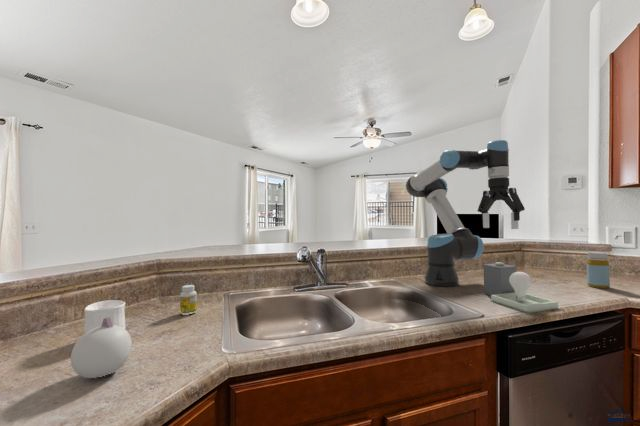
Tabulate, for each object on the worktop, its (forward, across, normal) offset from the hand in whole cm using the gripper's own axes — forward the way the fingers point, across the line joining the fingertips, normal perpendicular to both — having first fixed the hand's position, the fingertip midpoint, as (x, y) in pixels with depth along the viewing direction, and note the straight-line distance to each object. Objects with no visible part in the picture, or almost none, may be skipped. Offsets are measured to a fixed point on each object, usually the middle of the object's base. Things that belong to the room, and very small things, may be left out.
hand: (499, 228), depth 119 cm
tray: (+27, +15, -7) cm, 31 cm away
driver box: (+27, +3, -4) cm, 27 cm away
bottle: (+27, +7, +46) cm, 54 cm away
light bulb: (+26, +14, -7) cm, 31 cm away
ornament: (+27, +22, -134) cm, 138 cm away
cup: (+27, +1, -142) cm, 145 cm away
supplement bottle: (+27, -15, -123) cm, 127 cm away
